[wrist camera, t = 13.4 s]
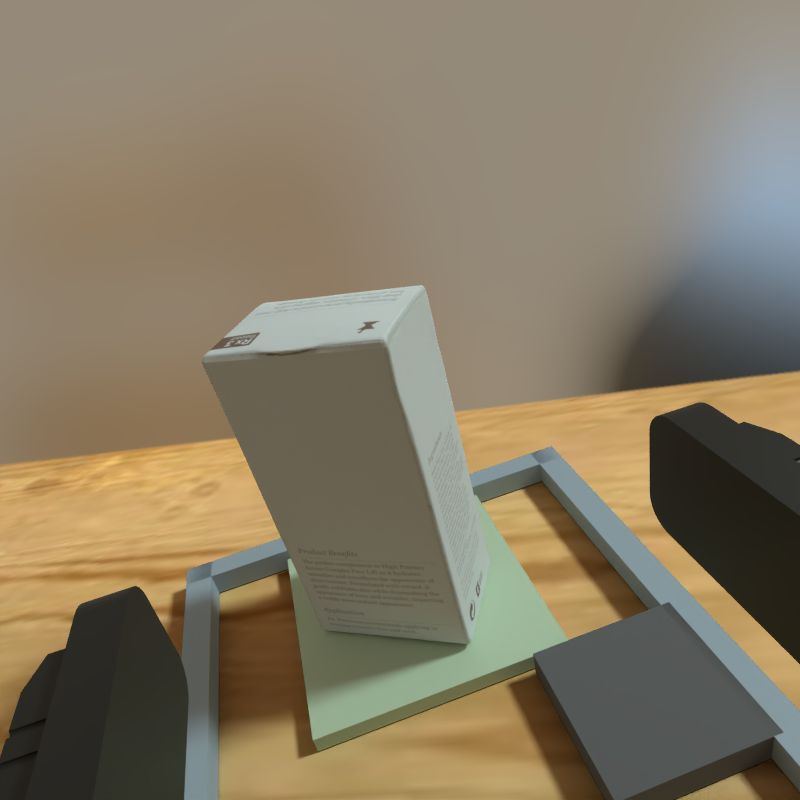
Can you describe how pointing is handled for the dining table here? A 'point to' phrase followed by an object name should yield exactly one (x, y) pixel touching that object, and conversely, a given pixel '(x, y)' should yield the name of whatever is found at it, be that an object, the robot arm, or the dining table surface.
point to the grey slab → (653, 708)
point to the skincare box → (359, 459)
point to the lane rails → (626, 553)
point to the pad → (420, 654)
